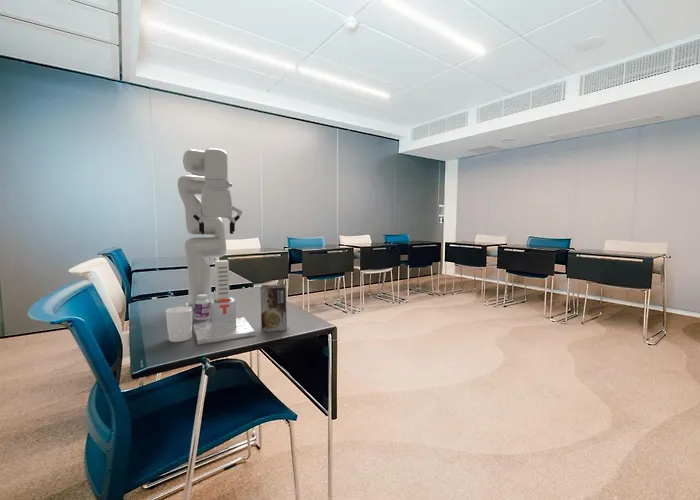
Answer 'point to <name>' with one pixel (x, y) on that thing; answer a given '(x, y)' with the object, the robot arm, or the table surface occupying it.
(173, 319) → the white cup
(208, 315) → the pill bottle
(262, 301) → the coffee box
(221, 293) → the column
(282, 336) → the table surface
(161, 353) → the table surface
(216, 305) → the stand
